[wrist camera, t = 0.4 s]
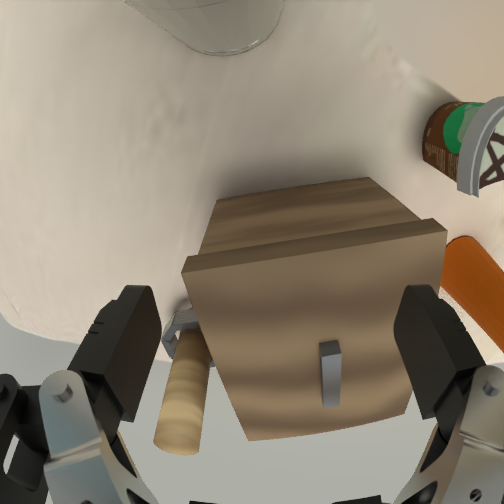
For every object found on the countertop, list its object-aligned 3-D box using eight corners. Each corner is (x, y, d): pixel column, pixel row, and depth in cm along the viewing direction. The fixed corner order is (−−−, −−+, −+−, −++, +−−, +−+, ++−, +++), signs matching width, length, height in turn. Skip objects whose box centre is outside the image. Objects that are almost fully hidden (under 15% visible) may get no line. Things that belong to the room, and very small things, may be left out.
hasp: (158, 313, 30) (137, 371, 23) (238, 303, 30) (233, 366, 23) (178, 356, 33) (165, 413, 26) (250, 350, 33) (249, 410, 26)
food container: (487, 84, 20) (556, 94, 12) (497, 139, 23) (562, 164, 14) (395, 101, 23) (460, 109, 14) (411, 164, 25) (472, 199, 16)
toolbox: (211, 197, 27) (176, 286, 15) (372, 172, 26) (458, 240, 13) (250, 347, 36) (248, 451, 23) (371, 327, 34) (407, 423, 22)
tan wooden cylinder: (181, 308, 33) (145, 434, 19) (212, 304, 33) (190, 436, 19) (190, 331, 35) (164, 454, 21) (220, 328, 34) (204, 455, 20)
